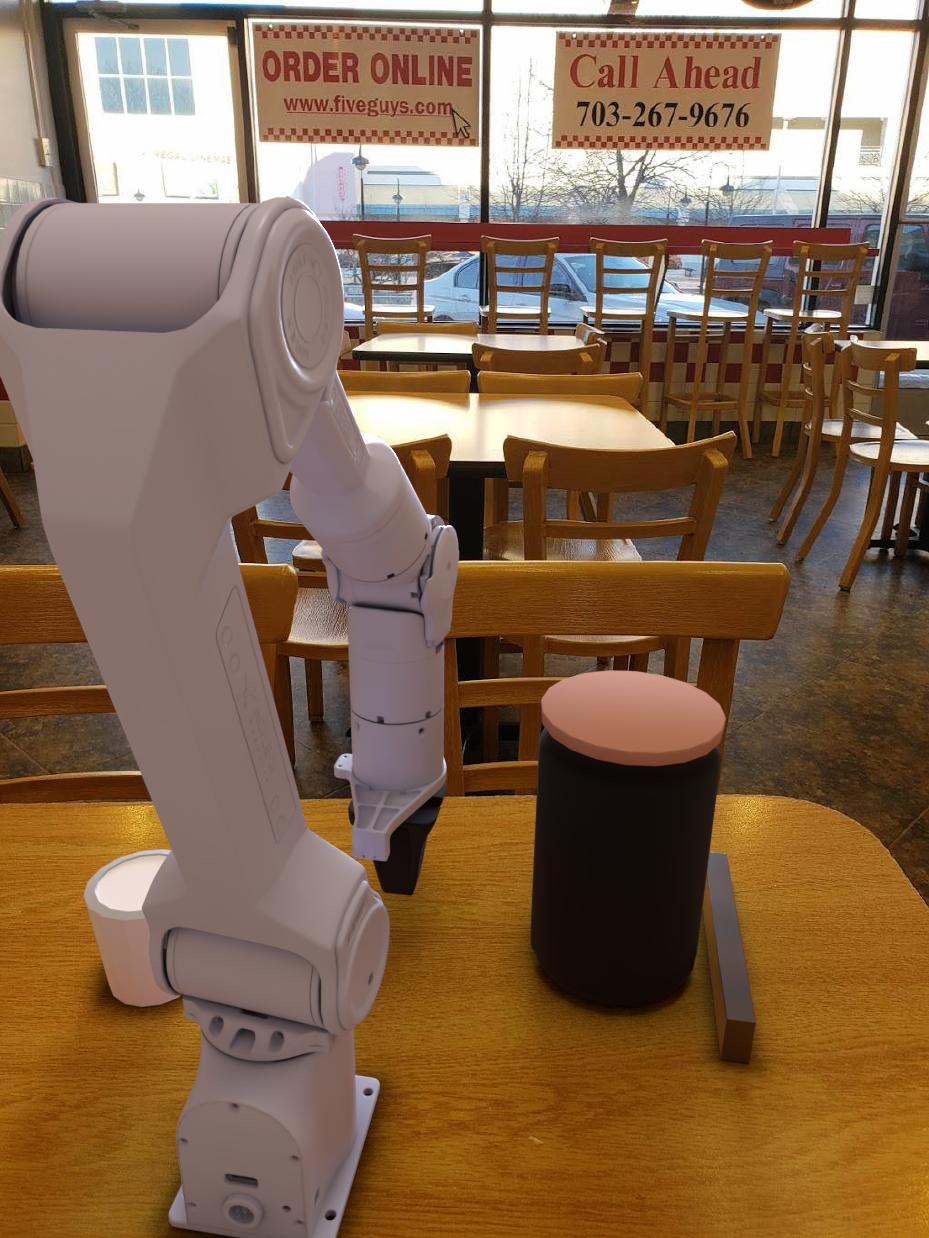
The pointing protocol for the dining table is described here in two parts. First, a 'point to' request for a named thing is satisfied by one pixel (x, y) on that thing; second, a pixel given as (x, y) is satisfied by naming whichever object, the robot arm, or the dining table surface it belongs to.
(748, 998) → the bar
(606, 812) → the coffee jar
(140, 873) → the white cup
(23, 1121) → the dining table surface
